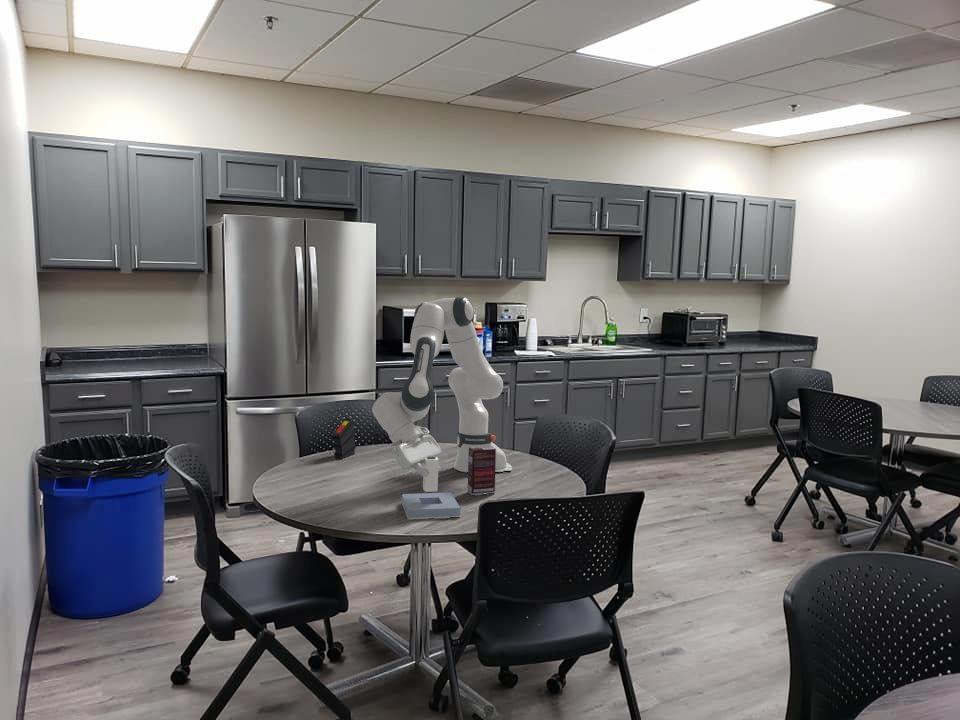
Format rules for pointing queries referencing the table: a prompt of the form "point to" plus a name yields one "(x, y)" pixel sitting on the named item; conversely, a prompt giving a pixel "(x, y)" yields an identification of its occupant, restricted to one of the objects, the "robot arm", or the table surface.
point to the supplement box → (481, 470)
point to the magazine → (344, 439)
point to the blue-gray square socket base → (430, 505)
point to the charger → (431, 474)
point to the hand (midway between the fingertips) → (432, 473)
